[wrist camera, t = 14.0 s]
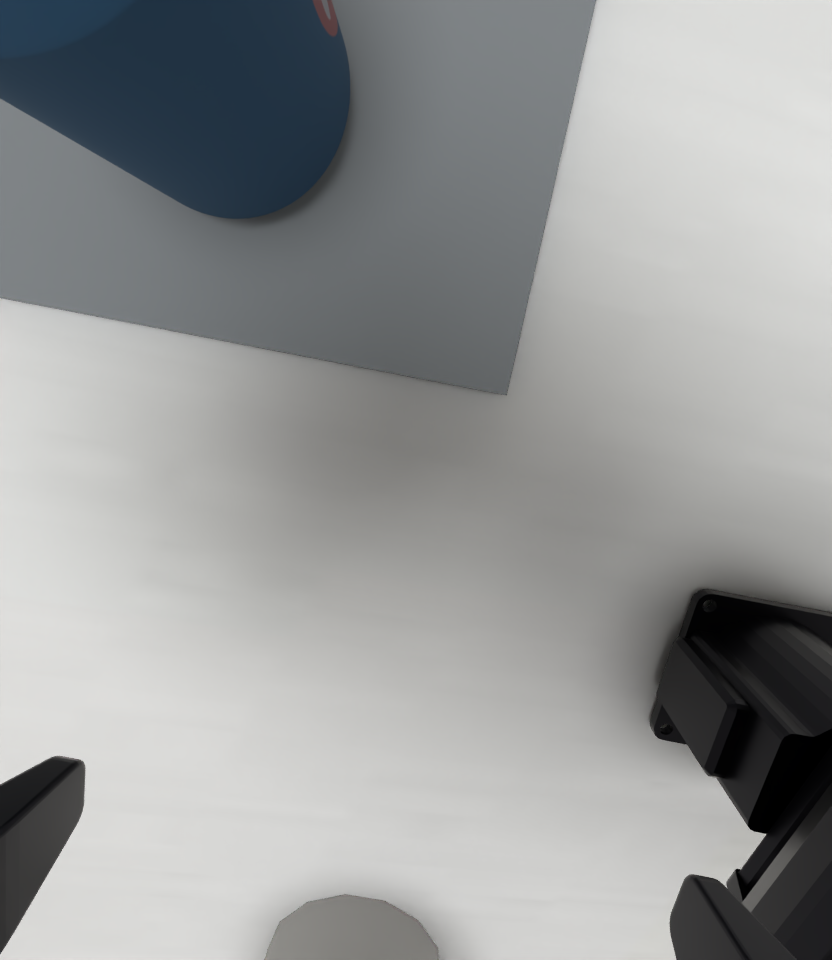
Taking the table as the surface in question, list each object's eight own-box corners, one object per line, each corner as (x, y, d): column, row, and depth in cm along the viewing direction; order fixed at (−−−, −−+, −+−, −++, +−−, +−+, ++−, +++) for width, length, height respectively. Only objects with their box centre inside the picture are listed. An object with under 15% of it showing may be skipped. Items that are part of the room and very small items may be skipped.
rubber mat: (609, -79, 16) (620, -107, 15) (503, 393, 19) (506, 395, 18) (-61, -210, 16) (-93, -248, 15) (-49, 287, 19) (-75, 283, 18)
